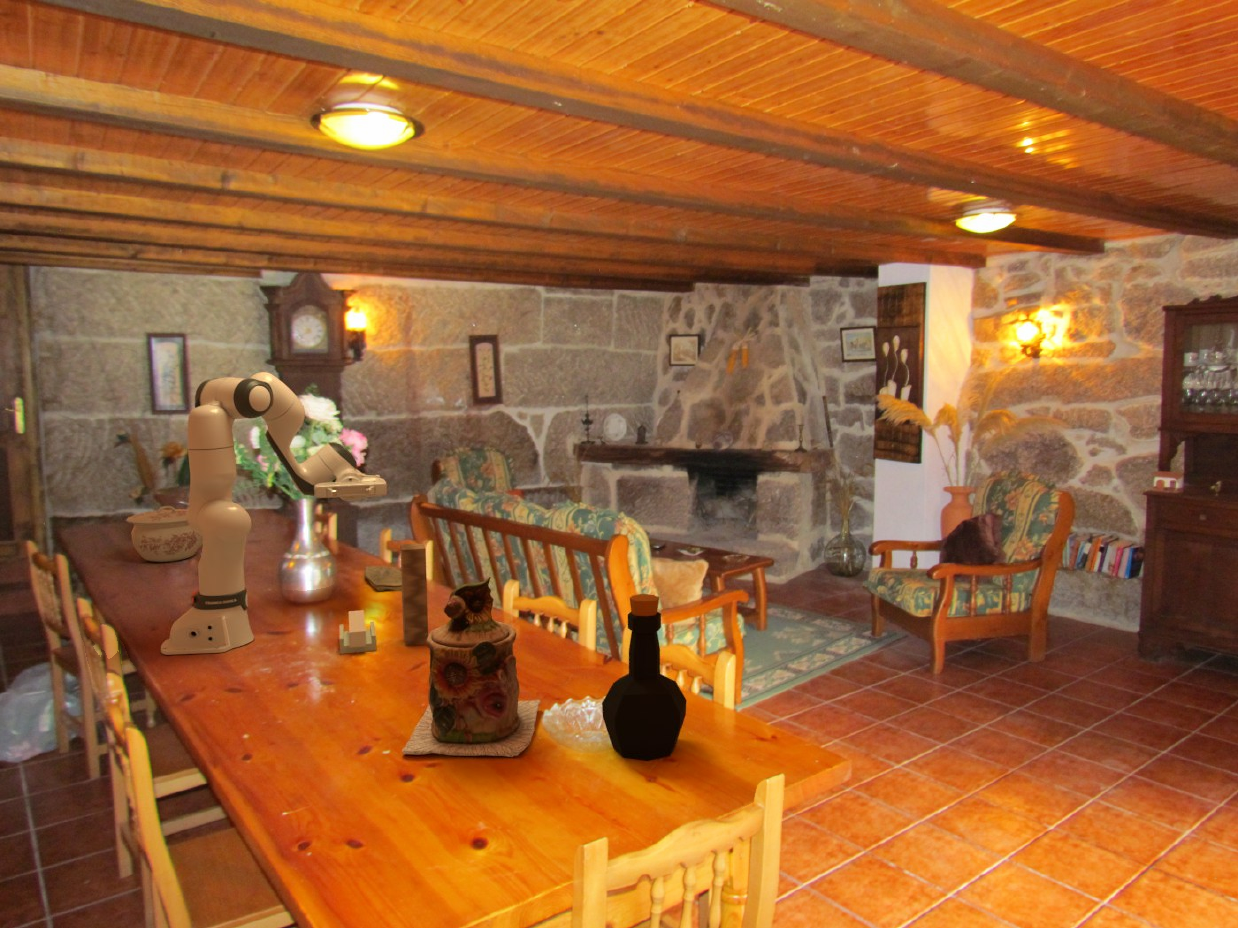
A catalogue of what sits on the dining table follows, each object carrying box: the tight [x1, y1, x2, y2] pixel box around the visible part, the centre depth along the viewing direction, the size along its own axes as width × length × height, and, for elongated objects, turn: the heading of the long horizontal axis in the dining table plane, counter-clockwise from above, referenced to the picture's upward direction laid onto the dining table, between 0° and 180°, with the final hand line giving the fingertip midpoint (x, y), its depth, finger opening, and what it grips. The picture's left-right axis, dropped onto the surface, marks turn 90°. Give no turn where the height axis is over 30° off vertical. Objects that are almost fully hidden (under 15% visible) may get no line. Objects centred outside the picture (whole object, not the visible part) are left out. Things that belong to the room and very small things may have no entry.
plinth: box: [400, 543, 429, 647], centre depth 232 cm, size 6×7×26 cm
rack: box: [339, 621, 377, 655], centre depth 231 cm, size 9×13×4 cm
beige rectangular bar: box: [348, 609, 367, 648], centre depth 232 cm, size 4×20×4 cm, turn 18°
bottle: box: [601, 593, 687, 762], centre depth 167 cm, size 16×16×30 cm
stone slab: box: [363, 565, 402, 592], centre depth 298 cm, size 12×4×30 cm
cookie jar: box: [401, 576, 541, 758], centre depth 174 cm, size 25×25×32 cm
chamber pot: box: [125, 505, 203, 564], centre depth 333 cm, size 28×28×21 cm
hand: (351, 492), depth 246 cm, fingers open, 8 cm apart
